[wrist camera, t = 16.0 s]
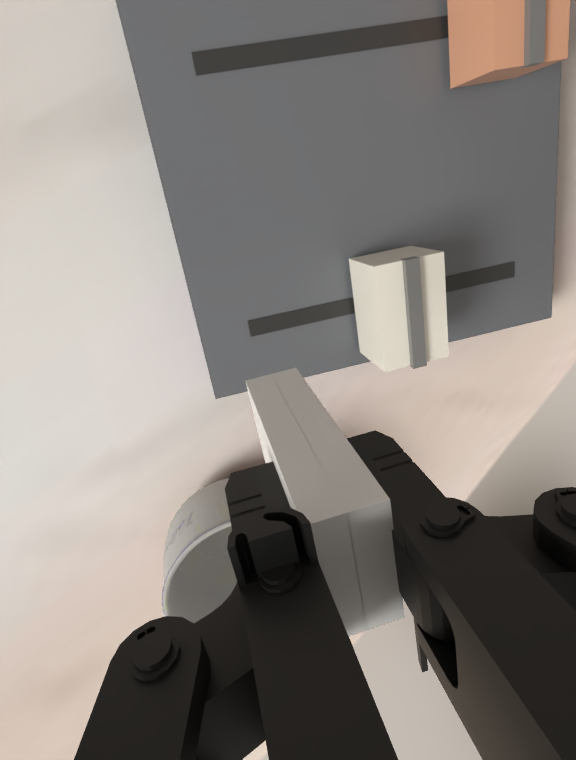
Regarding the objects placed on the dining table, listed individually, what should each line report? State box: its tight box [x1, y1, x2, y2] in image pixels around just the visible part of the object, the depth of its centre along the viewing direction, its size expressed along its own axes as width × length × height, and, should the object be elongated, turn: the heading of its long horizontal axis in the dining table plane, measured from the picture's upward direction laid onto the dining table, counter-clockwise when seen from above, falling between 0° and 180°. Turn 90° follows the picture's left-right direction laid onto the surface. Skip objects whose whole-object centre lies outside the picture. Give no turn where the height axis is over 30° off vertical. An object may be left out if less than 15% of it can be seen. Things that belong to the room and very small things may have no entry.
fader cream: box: [349, 246, 449, 372], centre depth 28 cm, size 6×4×4 cm, turn 10°
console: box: [116, 0, 561, 399], centre depth 29 cm, size 22×24×3 cm
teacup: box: [162, 478, 237, 623], centre depth 34 cm, size 14×11×8 cm
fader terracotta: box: [447, 0, 570, 89], centre depth 24 cm, size 6×4×4 cm, turn 10°
